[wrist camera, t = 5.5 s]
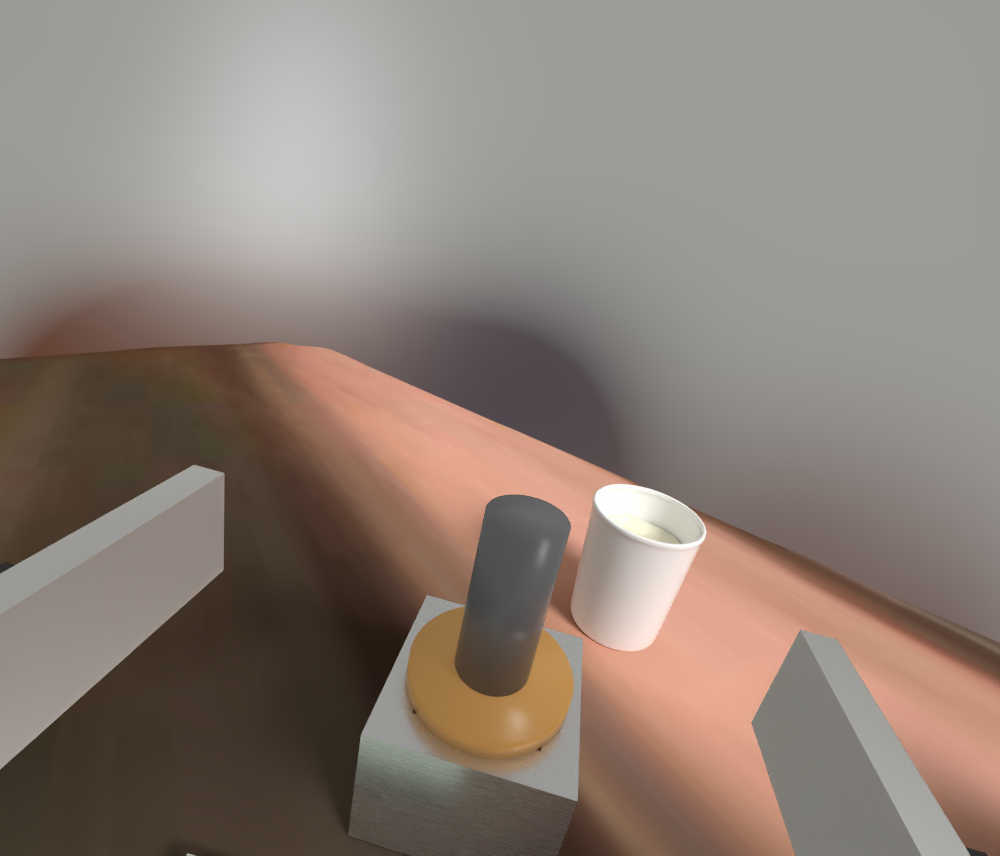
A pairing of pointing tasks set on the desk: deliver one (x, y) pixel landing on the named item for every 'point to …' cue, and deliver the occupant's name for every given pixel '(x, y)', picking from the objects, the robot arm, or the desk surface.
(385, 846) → the block
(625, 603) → the candle holder
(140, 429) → the desk surface
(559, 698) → the end cover
